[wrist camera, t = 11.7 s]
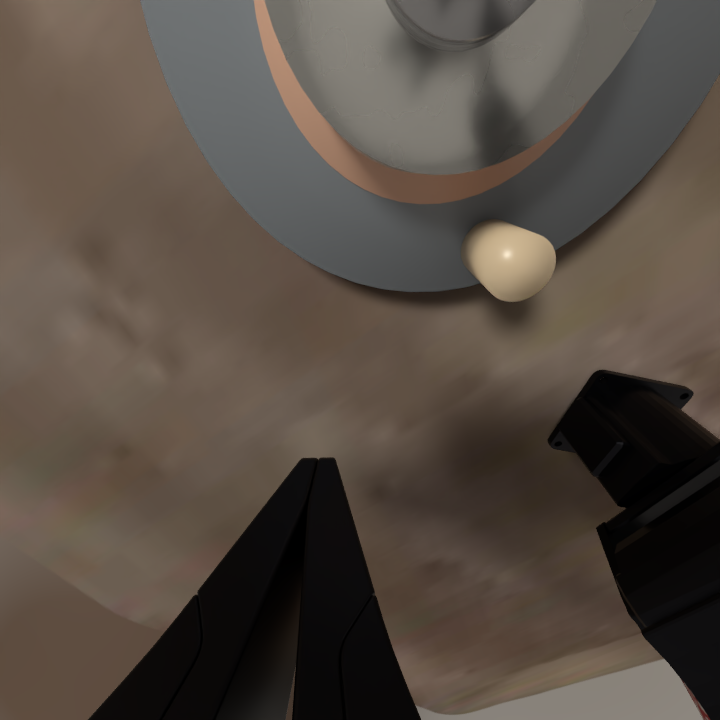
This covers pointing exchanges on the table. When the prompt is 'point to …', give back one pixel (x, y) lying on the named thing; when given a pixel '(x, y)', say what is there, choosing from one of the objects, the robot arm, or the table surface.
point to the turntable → (422, 191)
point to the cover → (452, 71)
